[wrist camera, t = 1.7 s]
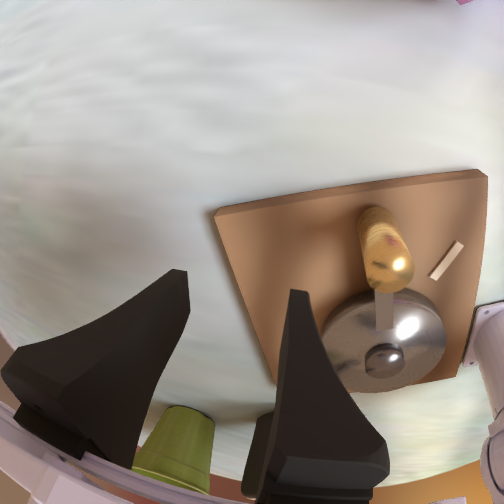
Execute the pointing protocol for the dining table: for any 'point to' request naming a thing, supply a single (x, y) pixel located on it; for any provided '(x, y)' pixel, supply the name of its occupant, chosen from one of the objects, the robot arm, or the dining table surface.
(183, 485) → the plant pot
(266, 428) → the battery charger
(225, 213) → the cutting board
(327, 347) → the crank handle wheel
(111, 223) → the dining table surface
